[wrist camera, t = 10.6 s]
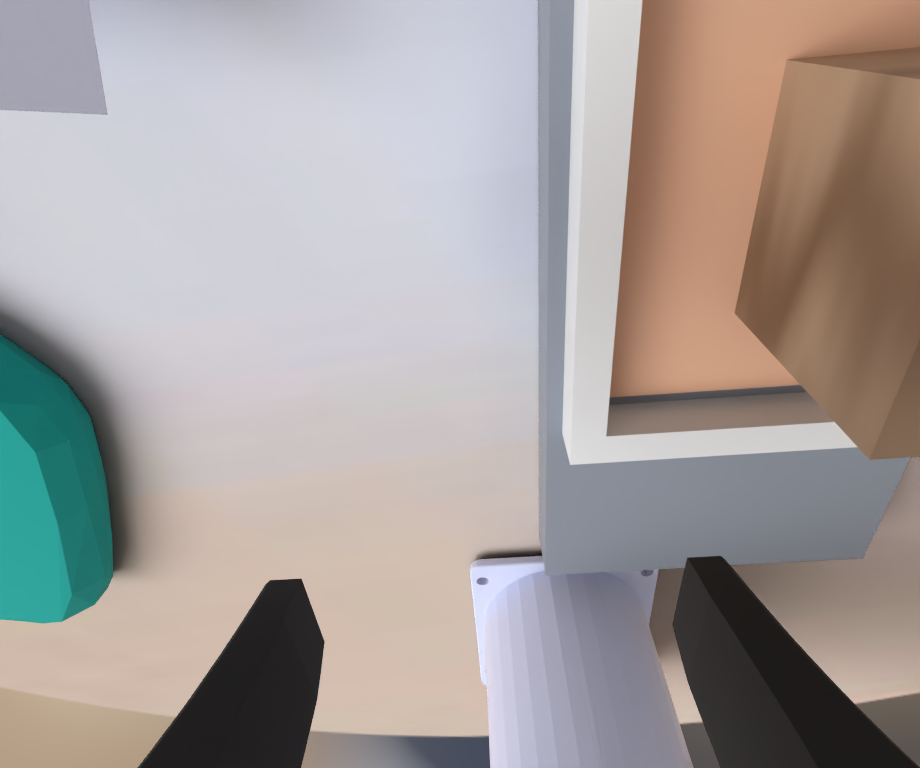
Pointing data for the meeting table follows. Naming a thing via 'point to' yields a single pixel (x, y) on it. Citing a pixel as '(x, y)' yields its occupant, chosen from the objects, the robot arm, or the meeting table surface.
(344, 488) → the meeting table surface
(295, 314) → the meeting table surface
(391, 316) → the meeting table surface
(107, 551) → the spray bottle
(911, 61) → the brown rectangular block
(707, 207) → the frame
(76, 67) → the wedge on round base
